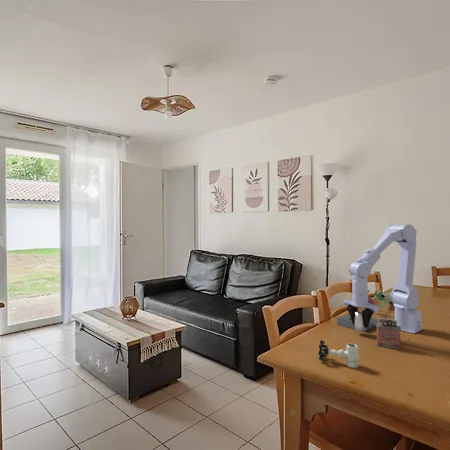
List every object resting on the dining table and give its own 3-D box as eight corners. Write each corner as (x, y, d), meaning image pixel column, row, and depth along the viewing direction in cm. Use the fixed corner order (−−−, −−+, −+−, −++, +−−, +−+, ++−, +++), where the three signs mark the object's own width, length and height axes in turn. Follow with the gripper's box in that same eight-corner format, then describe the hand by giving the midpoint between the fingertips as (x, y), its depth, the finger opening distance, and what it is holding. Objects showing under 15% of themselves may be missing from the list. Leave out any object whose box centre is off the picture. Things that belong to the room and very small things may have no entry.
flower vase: (396, 317, 178) (375, 317, 152) (374, 306, 186) (351, 305, 161) (404, 297, 177) (385, 294, 152) (382, 287, 186) (360, 283, 160)
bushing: (368, 329, 131) (368, 312, 131) (362, 332, 128) (362, 314, 128) (358, 327, 135) (358, 310, 134) (352, 329, 132) (352, 312, 132)
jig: (377, 325, 142) (377, 318, 142) (362, 331, 134) (362, 324, 134) (352, 319, 151) (352, 312, 151) (337, 324, 144) (337, 317, 144)
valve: (360, 363, 106) (322, 356, 112) (360, 342, 106) (322, 337, 112) (358, 371, 100) (318, 363, 106) (357, 350, 100) (318, 343, 106)
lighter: (400, 345, 119) (399, 318, 119) (401, 349, 116) (401, 321, 116) (375, 343, 122) (375, 316, 122) (376, 346, 119) (376, 319, 119)
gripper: (338, 290, 135) (338, 323, 135) (372, 296, 123) (372, 332, 123) (347, 288, 139) (348, 319, 139) (381, 293, 127) (382, 328, 128)
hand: (360, 325), depth 131 cm, fingers closed on bushing, 4 cm apart
